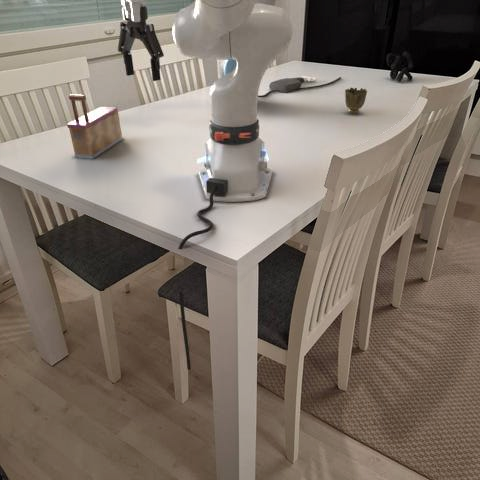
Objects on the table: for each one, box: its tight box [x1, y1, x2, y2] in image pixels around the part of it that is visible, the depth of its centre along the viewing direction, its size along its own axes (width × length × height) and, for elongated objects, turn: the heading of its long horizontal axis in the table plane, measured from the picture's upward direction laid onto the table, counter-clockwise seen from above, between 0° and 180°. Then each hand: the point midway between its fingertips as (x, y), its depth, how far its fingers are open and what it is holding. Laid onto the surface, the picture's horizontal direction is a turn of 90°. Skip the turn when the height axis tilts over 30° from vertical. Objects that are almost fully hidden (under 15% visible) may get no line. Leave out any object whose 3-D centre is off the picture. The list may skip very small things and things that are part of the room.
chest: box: [68, 110, 124, 160], centre depth 131 cm, size 17×6×9 cm, turn 164°
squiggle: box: [385, 51, 414, 83], centre depth 198 cm, size 11×10×15 cm
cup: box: [344, 87, 368, 115], centre depth 156 cm, size 8×7×8 cm
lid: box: [66, 93, 119, 129], centre depth 126 cm, size 18×6×8 cm, turn 164°
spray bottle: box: [268, 75, 317, 93], centre depth 194 cm, size 3×11×24 cm
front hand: (133, 20), depth 115 cm, fingers open, 8 cm apart
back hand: (143, 77), depth 148 cm, fingers open, 13 cm apart
